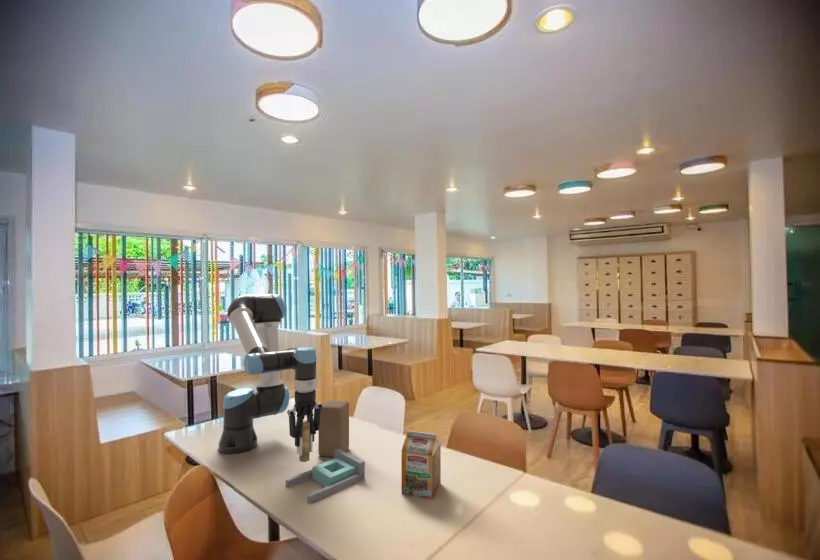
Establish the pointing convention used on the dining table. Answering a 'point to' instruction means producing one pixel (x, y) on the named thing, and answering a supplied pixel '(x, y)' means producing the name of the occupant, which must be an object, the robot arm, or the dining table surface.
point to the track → (338, 485)
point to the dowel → (305, 441)
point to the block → (333, 427)
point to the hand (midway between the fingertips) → (304, 452)
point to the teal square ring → (332, 471)
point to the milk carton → (421, 465)
